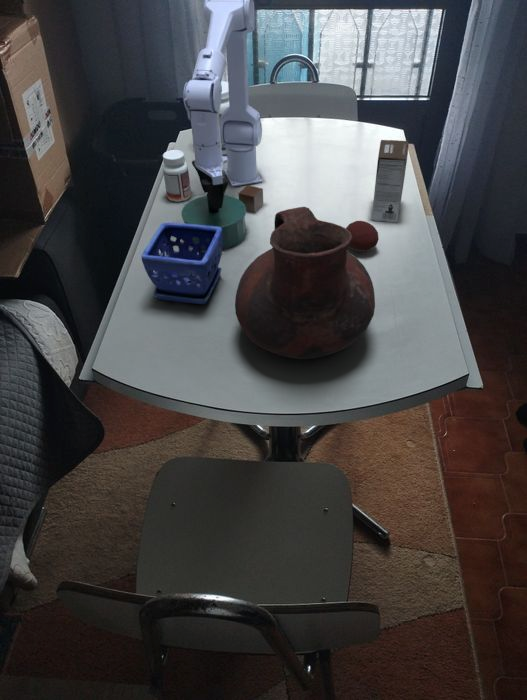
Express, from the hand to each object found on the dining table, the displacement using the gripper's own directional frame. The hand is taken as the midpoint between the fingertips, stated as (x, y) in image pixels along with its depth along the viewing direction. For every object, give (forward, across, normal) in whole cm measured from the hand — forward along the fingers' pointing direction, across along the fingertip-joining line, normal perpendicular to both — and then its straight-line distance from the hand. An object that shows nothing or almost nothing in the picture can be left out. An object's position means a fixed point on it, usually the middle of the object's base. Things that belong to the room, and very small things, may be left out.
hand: (212, 199), depth 133 cm
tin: (+9, 0, 0) cm, 9 cm away
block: (+9, +9, -11) cm, 17 cm away
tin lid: (+3, 0, 0) cm, 3 cm away
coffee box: (+9, -5, -41) cm, 42 cm away
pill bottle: (+9, +20, +4) cm, 22 cm away
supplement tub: (+9, +44, -12) cm, 46 cm away
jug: (+9, -39, -7) cm, 41 cm away
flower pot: (+9, -19, +10) cm, 23 cm away
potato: (+9, -17, -28) cm, 34 cm away
